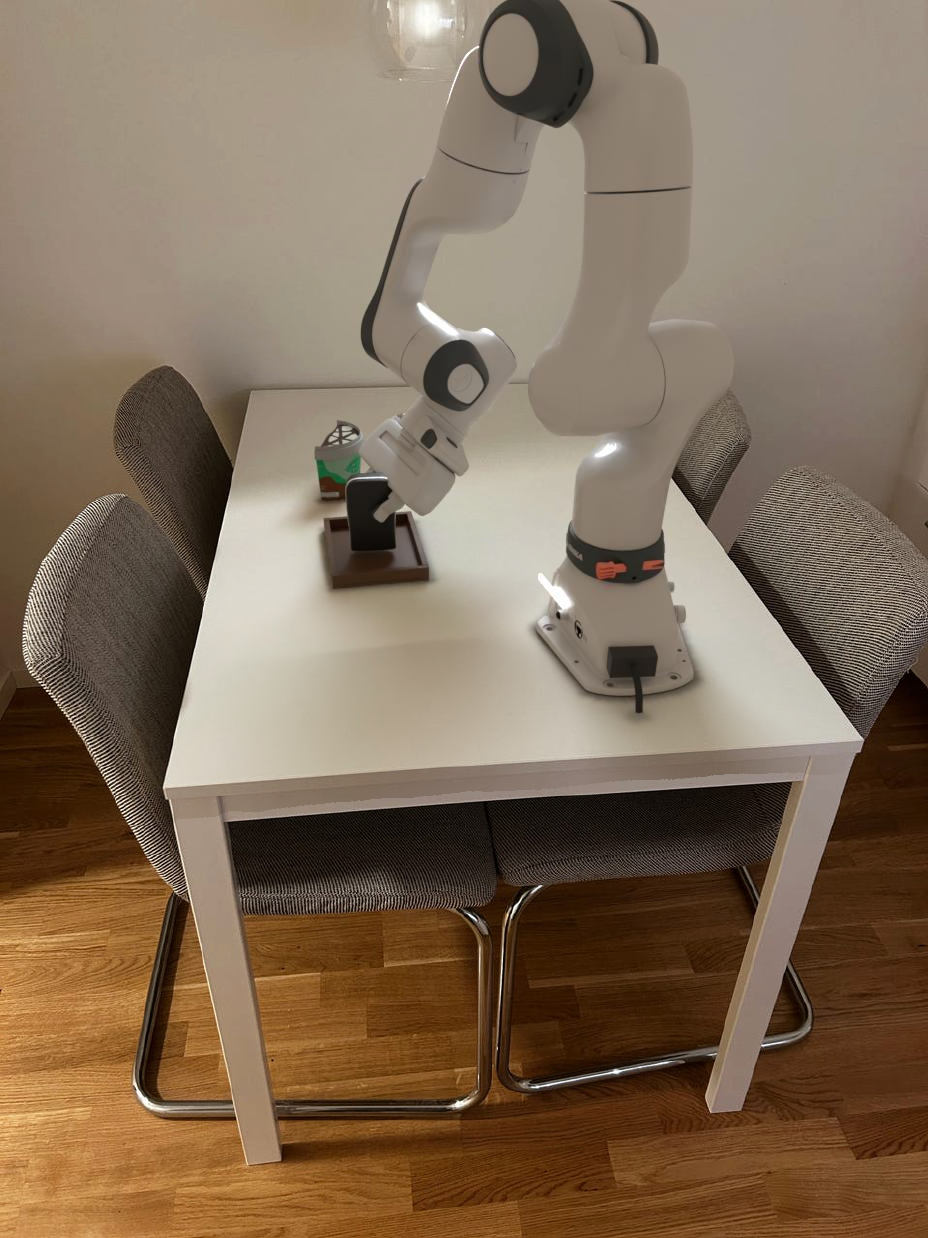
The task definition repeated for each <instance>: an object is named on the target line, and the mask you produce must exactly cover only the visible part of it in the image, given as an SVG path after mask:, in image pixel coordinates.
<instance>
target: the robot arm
mask: <svg viewBox="0 0 928 1238" xmlns="http://www.w3.org/2000/svg"><path fill="white" fill-rule="evenodd" d="M659 51H660V50H659V43H658V37H657V35H656V32H655V29H654V27H653V26H652V24H651V22H650V21H649V20H648V18H647V17H646V16H645V15H644V14H643V13H642V12H640V11H639V9H637V8H635V7H634V6H632V5H630V4H628V3H626V2H624V1H620V0H504V1H502V2H501V3H500V4H499V5H497V7H495V8H494V10H493V11H491V13H490V14H489V16H488V17H487V19H486V21H485V23H484V25H483V28H482V30H481V33H480V37H479V42H478V46H476V47H474V48H473V49H471V50H470V51H469V52H468V53H467V54H466V55H465V56H464V58H463V60H462V61H461V64H460V66H459V67H458V68H459V69H458V71H457V73H456V76H455V78H454V81H453V84H452V87H451V89H450V93H449V95H448V99H447V102H446V104H445V109H444V112H443V116H442V120H441V123H440V127H439V132H438V137H437V141H436V146H435V151H434V155H433V157H432V160H431V163H430V166H429V168H428V170H427V173H426V174H425V175H424V176H423V177H421V178H420V179H418V180H417V181H416V182H415V183H414V184H413V186H412V187H411V189H410V190H409V192H408V194H407V196H406V198H405V201H404V203H403V206H402V209H401V212H400V215H399V218H398V221H397V224H396V227H395V230H394V233H393V236H392V240H391V242H390V245H389V250H388V252H387V256H386V258H385V262H384V265H383V267H382V268H383V269H382V271H381V275H380V277H379V278H380V279H379V281H378V284H377V287H376V289H375V292H374V293H373V296H372V297H371V300H370V301H369V304H368V305H367V307H366V309H365V311H364V313H363V316H362V318H361V324H360V341H361V346H362V349H363V350H364V352H365V353H366V355H367V356H369V358H371V359H373V360H374V361H376V362H377V363H378V364H380V365H382V366H383V367H385V369H388V370H390V371H391V372H392V373H393V374H394V375H396V376H397V377H398V378H399V379H400V380H402V381H403V382H404V384H406V385H408V386H410V387H411V388H412V389H413V390H415V391H416V392H417V393H418V394H420V395H418V397H417V398H416V399H415V400H414V402H413V403H412V404H411V406H410V407H409V408H408V409H407V410H406V412H401V413H398V414H394V415H392V416H391V418H387V419H385V420H383V421H382V422H381V423H380V424H379V425H378V426H377V427H376V428H375V429H374V431H372V432H371V434H369V436H368V437H367V438H366V439H364V442H363V444H362V445H361V447H360V450H359V453H358V454H359V456H360V457H361V460H363V462H365V463H366V464H367V465H368V466H369V468H368V469H367V471H366V472H365V473H379V472H381V473H383V474H384V475H385V477H386V478H387V479H388V486H389V487H390V488H391V489H392V490H393V491H392V492H391V493H390V495H389V496H388V498H389V499H388V500H387V501H385V502H384V503H383V504H381V505H379V504H377V505H376V506H375V508H374V509H373V510H372V511H371V514H372V515H373V517H374V518H375V519H376V520H378V521H379V522H384V521H385V520H386V518H387V517H388V516H389V515H390V514H392V513H394V512H398V511H399V510H401V509H402V508H404V506H405V505H406V506H407V507H408V508H409V509H410V510H411V511H413V512H414V513H415V514H417V515H418V516H420V517H424V516H427V515H428V514H431V513H432V512H433V511H434V510H435V509H436V508H437V507H438V505H439V504H440V503H442V501H443V500H444V499H445V497H446V496H447V495H448V493H450V491H451V490H452V488H453V486H454V485H455V483H456V476H457V477H463V476H464V475H465V473H467V472H468V470H469V468H470V463H469V461H468V459H467V456H466V453H465V448H464V446H463V443H464V442H465V441H466V439H467V438H468V436H469V435H470V433H471V430H472V428H473V426H474V425H475V424H476V423H477V422H478V421H479V420H480V419H481V418H483V417H484V416H486V415H487V414H488V413H489V412H490V410H491V409H492V407H493V406H494V405H495V404H496V402H497V401H498V400H499V399H500V397H501V396H502V394H503V393H504V391H505V390H506V388H507V387H508V385H509V384H510V382H511V381H512V378H513V377H514V375H515V373H516V370H517V367H518V362H517V359H516V355H515V354H514V352H513V351H512V349H511V348H510V346H509V345H508V344H507V343H506V341H505V340H504V339H503V338H502V337H501V336H499V334H497V333H496V332H495V331H493V330H491V329H489V328H487V327H481V328H480V329H478V330H477V331H476V330H475V331H471V330H465V329H462V328H460V327H455V326H454V325H452V324H451V323H449V322H448V321H446V320H445V319H444V318H443V317H441V316H439V315H438V314H437V313H436V312H435V311H433V310H432V309H430V307H429V306H428V304H427V301H426V299H425V296H424V295H425V294H424V291H425V286H426V283H427V281H428V278H429V275H430V272H431V270H432V266H433V263H434V261H435V258H436V255H437V252H438V249H439V246H440V244H441V242H442V241H443V239H444V238H445V237H446V236H448V235H467V236H468V235H480V234H485V233H489V232H492V231H495V230H496V229H499V228H500V227H502V226H503V225H504V224H507V222H509V220H510V219H512V217H514V215H515V213H516V212H517V210H518V208H519V206H520V204H521V201H522V199H523V196H524V193H525V191H526V186H527V184H528V183H527V182H528V178H529V175H530V171H531V167H532V162H533V158H534V155H535V151H536V145H537V142H538V139H539V136H540V134H541V131H542V130H543V128H544V126H545V125H546V126H548V127H551V128H553V129H559V128H562V127H563V126H565V125H566V124H567V123H568V124H569V125H571V126H572V127H573V129H574V130H575V131H576V132H577V134H578V135H579V137H580V140H581V143H582V148H583V159H584V165H583V166H584V167H583V168H584V169H583V170H584V171H583V174H584V175H583V176H584V177H583V191H584V192H583V229H582V231H583V232H582V249H581V250H582V253H581V265H580V272H579V278H578V282H577V286H576V289H575V293H574V296H573V297H572V298H573V299H572V301H571V303H570V307H569V309H568V311H567V314H566V315H565V318H564V320H563V322H562V324H561V325H560V327H559V329H558V331H557V332H556V333H555V335H554V336H553V338H552V339H551V340H550V342H549V343H548V344H547V345H545V347H544V348H543V349H542V350H541V351H540V352H539V353H538V354H537V356H536V357H535V359H534V361H533V363H532V365H531V368H530V371H529V373H528V379H527V397H528V402H529V405H530V409H531V411H532V412H533V415H534V417H535V418H536V420H537V421H538V422H539V424H540V425H541V426H542V427H543V428H544V429H545V430H546V431H547V432H548V433H550V434H551V435H554V436H556V437H575V438H580V437H581V438H582V437H583V438H584V437H586V438H587V437H589V438H590V437H593V438H594V437H598V436H602V435H603V437H602V438H601V440H600V441H599V442H598V443H597V444H596V445H595V446H594V447H593V448H592V449H590V451H589V452H588V453H587V454H586V455H585V456H584V457H583V458H582V460H581V461H580V463H579V465H578V467H577V469H576V473H575V478H574V491H573V506H572V516H571V517H572V518H571V520H570V522H569V523H568V527H567V532H566V537H565V543H566V544H565V545H566V546H565V553H566V556H565V558H564V560H563V561H562V562H561V564H560V565H559V566H558V567H557V568H556V569H555V571H554V572H553V575H552V580H551V583H550V582H549V581H548V579H547V578H546V577H545V576H544V575H543V574H542V573H538V581H539V582H540V583H541V584H542V585H543V587H544V588H545V590H547V591H548V593H549V594H550V596H549V603H548V610H547V614H545V615H544V616H542V617H541V618H539V619H538V620H537V622H536V626H535V630H536V632H537V633H538V635H539V636H540V637H541V638H542V639H543V641H544V642H545V643H546V644H547V645H548V646H549V648H550V649H551V651H552V652H553V653H554V654H555V655H556V656H557V658H558V659H559V660H560V662H562V663H563V665H564V666H565V667H566V668H567V670H568V671H569V672H570V673H571V674H572V676H573V677H574V678H575V679H576V680H577V682H578V683H579V684H580V685H581V687H582V688H583V689H584V690H586V691H587V692H589V693H593V694H599V695H603V696H604V695H605V696H616V697H624V696H626V697H627V696H629V697H630V696H635V697H634V698H635V701H634V702H635V703H634V704H635V705H634V706H635V707H634V709H635V710H634V712H635V714H643V713H644V695H649V694H658V693H662V692H667V691H671V690H675V689H677V688H680V687H683V686H685V685H687V684H688V683H690V682H691V681H693V680H694V673H695V671H694V668H693V664H692V662H691V659H690V656H689V653H688V650H687V649H688V648H687V646H686V643H685V640H684V638H683V637H684V636H683V634H682V631H681V628H680V625H679V624H681V625H682V624H685V622H686V618H687V611H686V606H685V605H683V604H674V602H673V597H672V593H674V592H675V582H674V581H669V579H668V576H667V572H666V568H665V564H666V562H665V554H666V542H665V533H664V529H663V523H664V518H665V517H664V516H665V511H666V504H667V499H668V494H669V488H670V483H671V481H672V477H673V473H674V471H675V469H676V466H677V463H678V461H679V459H680V457H681V454H682V453H683V450H684V448H685V447H686V445H687V443H688V442H689V439H690V438H691V436H692V434H693V433H694V431H695V429H696V428H697V426H698V424H699V423H700V421H701V420H702V419H703V417H704V416H705V415H706V413H707V412H709V410H710V409H711V408H712V407H713V406H714V405H715V404H716V403H717V402H718V401H719V400H720V399H722V398H723V396H725V394H726V393H727V391H728V390H729V388H730V386H731V384H732V380H733V377H734V371H735V356H734V351H733V348H732V344H731V342H730V340H729V338H728V336H727V335H726V333H725V332H724V331H723V330H722V329H721V328H720V327H719V326H718V325H716V324H715V323H712V322H711V321H705V320H695V319H684V318H682V319H681V318H670V319H666V320H660V321H655V322H651V320H652V318H653V314H654V312H655V310H656V308H657V306H658V303H659V302H660V300H661V299H662V297H663V296H664V294H665V293H666V291H668V290H669V289H670V287H672V286H673V285H674V284H675V283H676V282H678V280H679V279H680V278H681V276H682V275H683V274H684V272H685V270H686V268H687V265H688V262H689V259H690V243H691V225H692V224H691V222H692V206H693V205H692V204H693V203H692V201H693V184H694V183H693V181H694V146H693V145H694V144H693V128H692V118H691V117H692V116H691V108H690V101H689V94H688V90H687V87H686V84H685V82H684V81H683V79H682V78H681V77H680V76H679V74H677V73H676V72H674V71H673V70H671V69H669V68H667V67H665V66H663V65H660V64H659V53H660V52H659Z"/></svg>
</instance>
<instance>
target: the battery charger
mask: <svg viewBox="0 0 928 1238" xmlns="http://www.w3.org/2000/svg"><path fill="white" fill-rule="evenodd" d="M392 491H393V490H392V489H391V488H390V487H389V486H388V479H387V478H386V477H385V475H384V474H383V473H381V472H379V473H366V472H360V473H357V474H353V475H351V476H350V477H349V478H348V480H347V484H346V490H345V493H346V499H345V507H346V516H347V518H348V525H349V532H350V548H351V550H352V551H379V550H391V549H395V548H396V533H395V521H396V512H397V511H396V512H394V513H392V514H390V515H389V516H388V517H387V518H386V520H385V521H384V522H379V521H378V520H376V519H375V518H374V517H373V515H372V514H371V511H372V510H373V509H374V508H375V506H376V505H377V504H379V505H381V504H383V503H384V502H385V501H387V500H388V499H389V498H388V496H389V495H390V493H391V492H392Z"/></svg>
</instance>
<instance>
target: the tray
mask: <svg viewBox="0 0 928 1238" xmlns="http://www.w3.org/2000/svg"><path fill="white" fill-rule="evenodd" d="M323 530H324V536H325V544H326V550H327V558H328V563H329V571H330V572H329V573H330V577H331V585H332V589H333V590H335V589H337V590H338V589H347V588H357V587H358V588H359V587H367V586H369V587H370V586H378V585H387V584H388V585H390V584H399V583H408V582H409V583H412V582H423V581H429V580H430V567H429V563H428V560H427V558H426V553H425V551H424V547H423V543H422V541H421V538H420V534H419V532H418V528H417V525H416V522H415V520H414V516H413V513H412V510H410V511H409V510H407V511H396V521H395V533H396V548H395V549H391V550H379V551H352V550H351V548H350V532H349V525H348V518H347V515H345V516H344V515H343V516H335V517H333V516H332V517H331V516H330V517H323Z"/></svg>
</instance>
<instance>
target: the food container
mask: <svg viewBox="0 0 928 1238" xmlns="http://www.w3.org/2000/svg"><path fill="white" fill-rule="evenodd" d="M364 441H365V438H364V435H363V432H362V431H361V428H360V427H359V426H358V425H357V424H355V423H353V422H351V421H347V420H342V419H336V426H335V428H334V429H333V430H332V431H331V432H330V433H328V434H327V435H326V437H325V439H324V440H323V442H322V443H321V445H320V446H318V445H314V460H315V461H316V468H317V469H316V470H317V476H318V477H317V478H318V485H319V492H320V493H319V494H320V500H321V501H320V502H339V501H344V500H346V493H345V490H346V484H347V480H348V478H349V477H350V476H351V475H353V474H357V473H361V468H362V467H361V464H362V462H361V460H362V458H361V457H360V456H359V454H358V453H359V450H360V447H361V445H362V444H363V442H364Z"/></svg>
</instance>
